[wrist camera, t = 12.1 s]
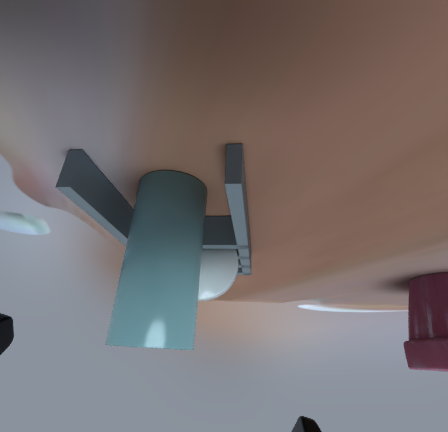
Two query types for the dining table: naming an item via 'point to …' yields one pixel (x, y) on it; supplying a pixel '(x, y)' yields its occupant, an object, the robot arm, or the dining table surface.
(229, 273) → the white half-round piece
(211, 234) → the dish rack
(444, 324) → the plant pot
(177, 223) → the aqua tapered cylinder
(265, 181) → the dining table surface
